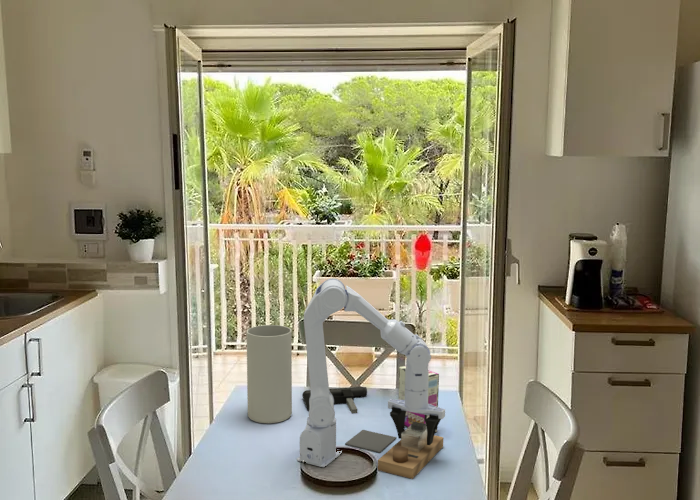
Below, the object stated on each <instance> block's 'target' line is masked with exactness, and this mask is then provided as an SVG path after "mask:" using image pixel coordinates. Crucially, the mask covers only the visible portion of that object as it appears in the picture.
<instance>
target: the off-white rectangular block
mask: <svg viewBox="0 0 700 500" xmlns="http://www.w3.org/2000/svg"><path fill="white" fill-rule="evenodd" d="M400 440H401V446H403V447H406V448H408V450H409V451H413V452H419V451H420V450H421V449H422V448H423V447H424V446H425V445H426V444H427V426H426V424H424V423H419V422H413V423H412V424H411V425H410V426H409V427H408V428H407V427H406V429H405V431H403V432H402V433H401V439H400Z"/></svg>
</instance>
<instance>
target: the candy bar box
mask: <svg viewBox="0 0 700 500" xmlns="http://www.w3.org/2000/svg"><path fill="white" fill-rule="evenodd" d="M405 369H406V365H403V366H399V367H398V398H397V400H405ZM428 371H429V375H428V404H431V405H433V406H436V407H439V389H440V388H439V387H440V386H439V384H440V383H439V382H440V373H438V372H435V371H432V370H430V369H428ZM428 417H429V415H424V414H419V413H414V412H409V411H406V415H405V428H406V429H407V428H408V427H409V426H410V425H411V424H412V423H413V422H419V423H424V424H426V419H427V418H428ZM438 426H439V425H438ZM438 426H437V428H436V431H435V433H437V432H438Z"/></svg>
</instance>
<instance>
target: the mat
mask: <svg viewBox="0 0 700 500" xmlns="http://www.w3.org/2000/svg"><path fill="white" fill-rule="evenodd" d="M396 440H397V436H393V435H388V434H383V433H380V432H374V431H371V430H367V429H362V430H360V431H359V432H358V433H357V434H355V435H354V436H352V437H351V438H349V440H347V441H346V442H345V443H344V445H345V446H347V447H353V448H357V449H361V450H364V451H369V452H374V453H376V454H377V453H378V454H381V453H382V452H384V450H386V448H388V447H389V446H390V445H391V444H392V443H393V442H395V441H396Z"/></svg>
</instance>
